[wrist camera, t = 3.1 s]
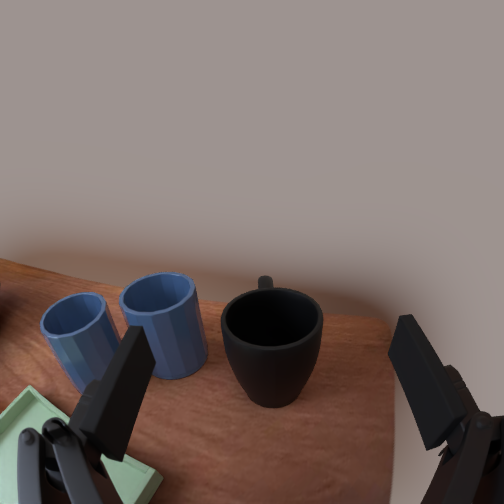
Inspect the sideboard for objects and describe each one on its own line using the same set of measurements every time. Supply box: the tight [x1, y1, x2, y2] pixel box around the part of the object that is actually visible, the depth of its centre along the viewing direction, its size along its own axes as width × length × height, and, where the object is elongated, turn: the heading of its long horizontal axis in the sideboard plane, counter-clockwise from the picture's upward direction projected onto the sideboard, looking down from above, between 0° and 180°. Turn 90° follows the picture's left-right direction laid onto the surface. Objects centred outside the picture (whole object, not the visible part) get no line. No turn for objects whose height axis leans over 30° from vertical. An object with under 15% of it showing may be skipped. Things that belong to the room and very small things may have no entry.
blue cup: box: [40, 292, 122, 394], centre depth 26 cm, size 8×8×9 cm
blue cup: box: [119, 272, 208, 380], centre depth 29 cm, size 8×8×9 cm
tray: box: [0, 385, 164, 504], centre depth 12 cm, size 19×16×2 cm
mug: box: [221, 276, 323, 408], centre depth 26 cm, size 8×12×10 cm
